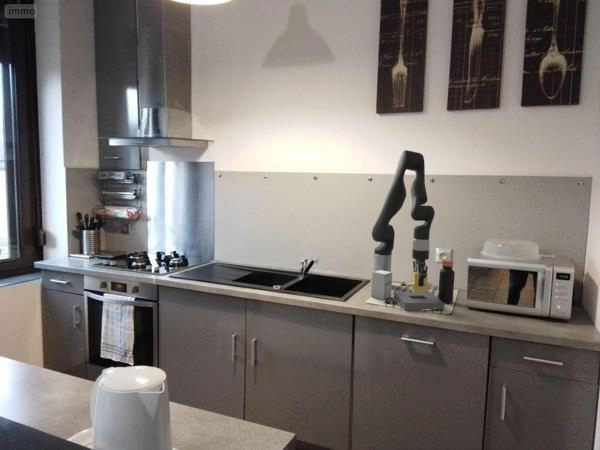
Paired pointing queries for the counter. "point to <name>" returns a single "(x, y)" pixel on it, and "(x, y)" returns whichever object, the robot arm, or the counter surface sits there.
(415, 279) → the servo block
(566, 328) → the counter surface
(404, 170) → the robot arm
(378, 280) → the supplement box
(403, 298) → the plate
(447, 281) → the bottle
